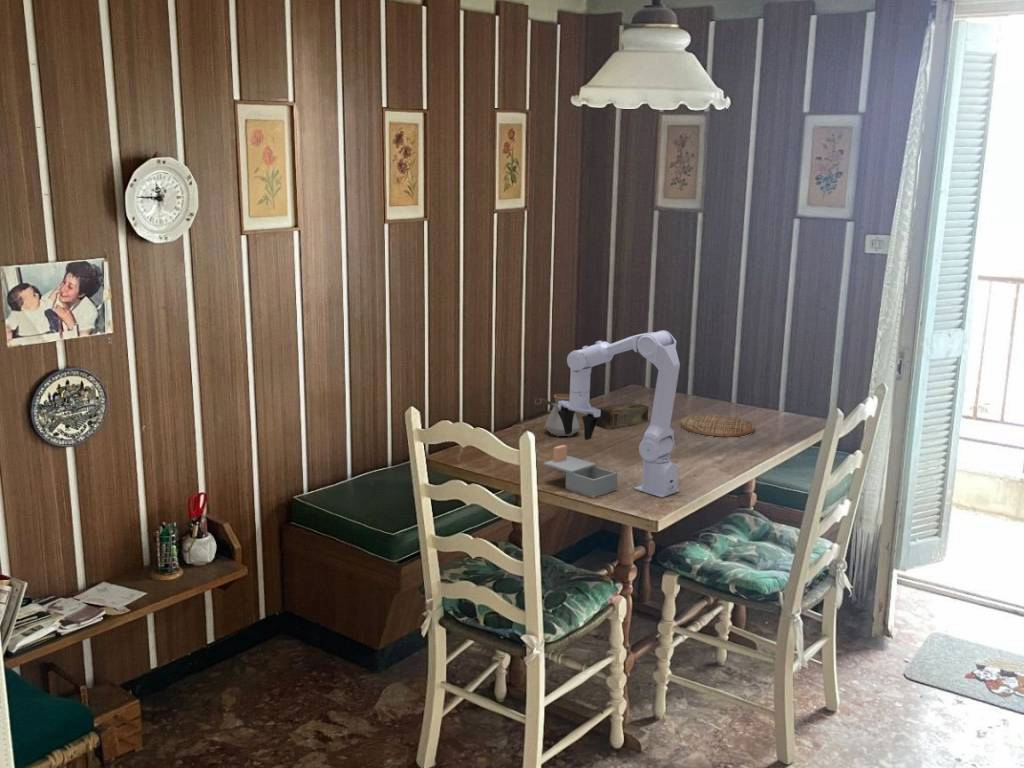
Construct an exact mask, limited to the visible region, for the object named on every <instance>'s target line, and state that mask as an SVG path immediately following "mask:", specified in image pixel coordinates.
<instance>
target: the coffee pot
mask: <svg viewBox="0 0 1024 768" xmlns="http://www.w3.org/2000/svg"><path fill="white" fill-rule="evenodd" d="M553 398H554V399H555V400H554V401H555V403H553V402H552V401H549V400H548V399H544V398H543V397H542V398H541V397H538V398H537V399H535V400H534V403H535V404H536V405H540V404H541V403H544V404H546V405H548V406H552V409H551V411H550V413H549V416H548V417H547V419H546V422H545V423H544V424H545V425H544V426H545V429H546V430H547V431H548V432H549V433H550V435H552V434H553V435H552V436H554V435H556V436H555V437H559V436H568V437H572V436H574V435H573V434H575V433H577V432H578V431H579V429H580V426H581V425H580V422H579V419H578V417H577V414H576V412H575V413H574V417H573V423H572V432H571V433H570V434H565V431H564V426H563V423H562V420H561V418H560V416H559V414H558V411H559V410H561V408H558V402H559V401H568V402H569V401H570V393H569V394H568V393H555V394H553ZM536 400H538V401H540V402H539V403H536Z"/></svg>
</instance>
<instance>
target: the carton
mask: <svg viewBox="0 0 1024 768" xmlns="http://www.w3.org/2000/svg"><path fill="white" fill-rule="evenodd" d="M617 488H618V472H616V471H614V470H613V471H612V470H610V469H605V468H602V467H599V466H597V465H596V466H594V467H591V468H588V469H584V470H581V471H578V472H574V473H569V472H565V488H564V489H565V490H568V491H570V492H573V493H576V494H579V495H582V496H584V497H585V496H586V497H588V498H592V499H596V498H597V497H600V496H604V495H606V494H610V493H612V491H613V492H615V490H616V491H617ZM609 492H610V493H609Z"/></svg>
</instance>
